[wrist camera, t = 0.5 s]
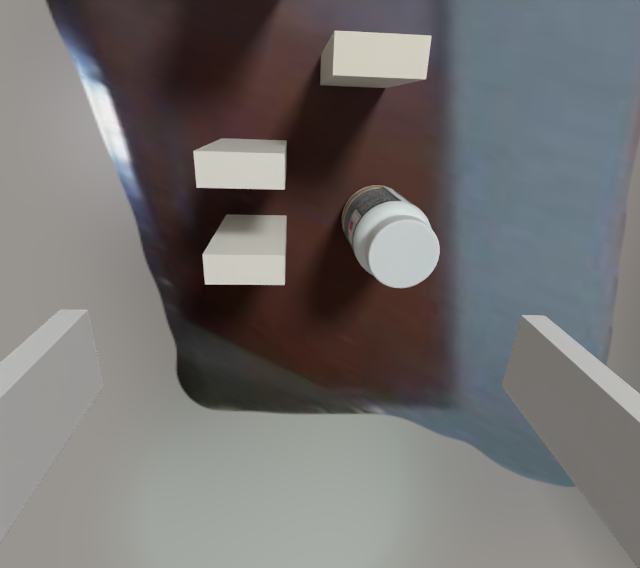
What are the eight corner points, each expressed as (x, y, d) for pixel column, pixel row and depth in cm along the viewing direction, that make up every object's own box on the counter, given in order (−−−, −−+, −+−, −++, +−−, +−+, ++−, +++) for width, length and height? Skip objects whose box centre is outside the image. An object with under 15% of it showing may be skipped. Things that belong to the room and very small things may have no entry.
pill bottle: (336, 245, 35) (352, 292, 26) (346, 179, 33) (367, 206, 24) (399, 251, 36) (435, 300, 27) (413, 187, 34) (458, 216, 25)
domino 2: (226, 214, 34) (202, 254, 24) (286, 215, 34) (284, 255, 25) (227, 237, 34) (204, 284, 25) (286, 238, 35) (284, 284, 26)
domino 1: (222, 138, 31) (193, 151, 22) (286, 140, 32) (284, 153, 22) (223, 165, 32) (196, 187, 23) (286, 166, 32) (284, 189, 23)
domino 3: (320, 54, 29) (334, 30, 20) (388, 58, 30) (431, 35, 21) (320, 85, 30) (332, 75, 21) (385, 88, 30) (426, 79, 21)
